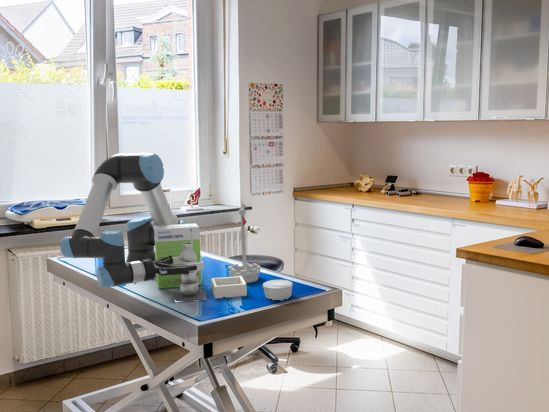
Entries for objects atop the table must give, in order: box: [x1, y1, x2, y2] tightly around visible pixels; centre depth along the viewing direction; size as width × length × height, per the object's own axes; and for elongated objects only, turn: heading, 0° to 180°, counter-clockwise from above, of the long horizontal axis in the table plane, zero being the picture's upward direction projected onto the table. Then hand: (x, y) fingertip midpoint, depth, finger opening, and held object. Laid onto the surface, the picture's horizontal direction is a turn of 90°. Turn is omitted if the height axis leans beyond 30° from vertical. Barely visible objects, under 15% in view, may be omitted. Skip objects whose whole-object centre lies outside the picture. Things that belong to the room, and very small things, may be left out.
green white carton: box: [154, 222, 203, 289], centre depth 237 cm, size 18×10×24 cm, turn 105°
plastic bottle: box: [179, 243, 199, 296], centre depth 219 cm, size 6×7×20 cm
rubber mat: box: [172, 289, 208, 302], centre depth 221 cm, size 12×12×1 cm
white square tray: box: [210, 276, 248, 299], centre depth 224 cm, size 12×12×4 cm
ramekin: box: [262, 279, 294, 301], centre depth 217 cm, size 11×11×5 cm
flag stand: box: [228, 207, 261, 284], centre depth 241 cm, size 13×13×30 cm
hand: (196, 261), depth 221 cm, fingers open, 13 cm apart
